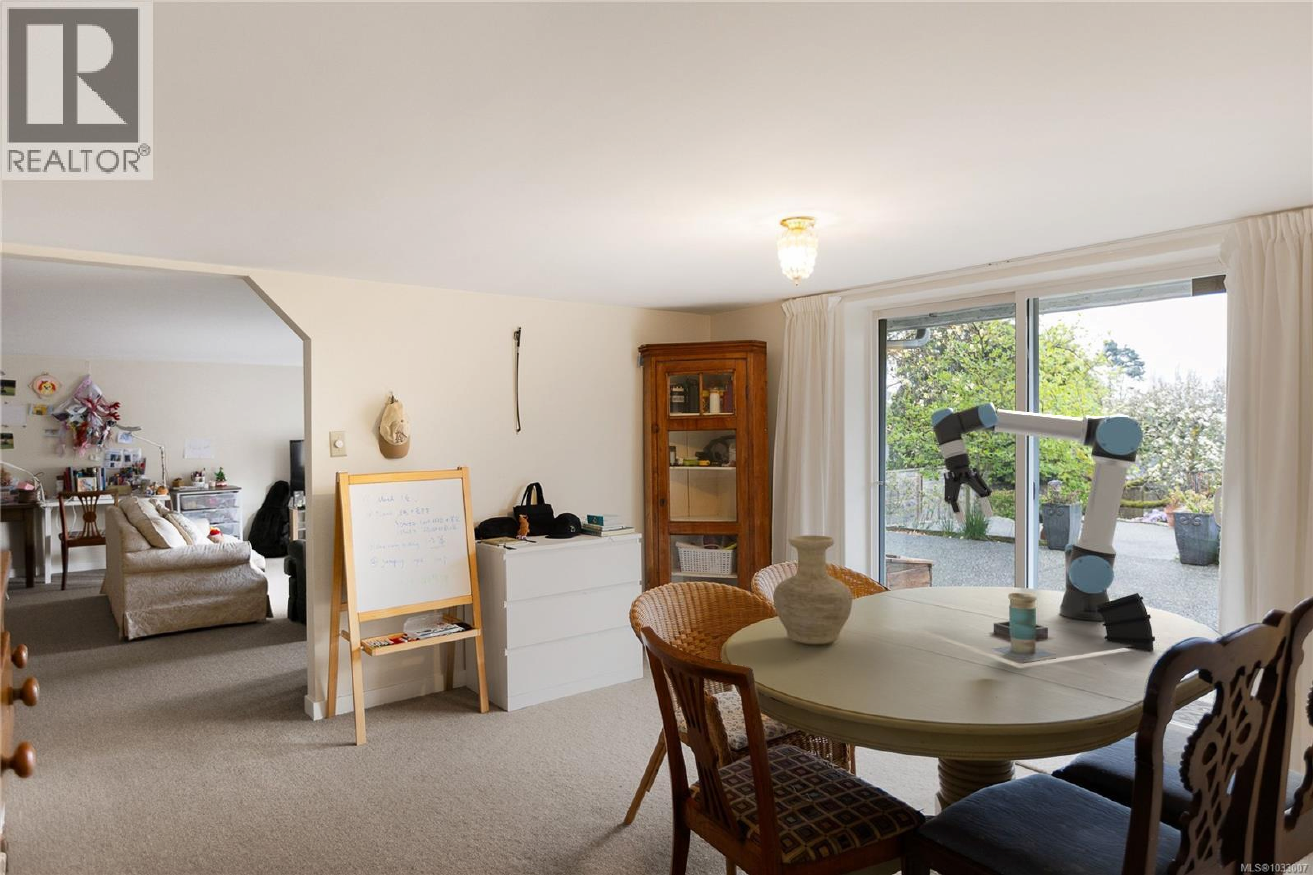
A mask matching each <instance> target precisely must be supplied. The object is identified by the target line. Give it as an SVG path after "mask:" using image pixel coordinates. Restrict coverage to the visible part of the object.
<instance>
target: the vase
mask: <svg viewBox="0 0 1313 875" xmlns="http://www.w3.org/2000/svg"><path fill="white" fill-rule="evenodd" d="M788 542H789V544H790V546H792V547H793V548H794V549H796V551H797V570H796V573H795V574H794V575H791V576H790V577H788V578H785V579H784V580H782V581H781V582H779V583H778V584H777V585H776V587H775V589H774V591H773V594H772V595H773V597H772V598H773V599H772V600H773V605H774V610H775V612H776V615H777V617H778V618H779V621H780V622H781V624H782V625H783V627H784V628H785V630H786V635H787V637H788V638H789V639H790V640H791V641H794V642H797V643H801V644H805V645H806V644H807V645H825V644H830V643H834V642H835V641H837V640H838V639H839V638H840V634H841V630H842V629H843V628H844V626H845V625H846V622H847V621H848V620H849V617H850V615H851V611H852V607H853V606H852V605H853V595H852V591H851V589H850V588H849V587H848V586H847V585H846V583H844V582H843V581H841V580H840V579H837V578H835V577H833V576H831V575H829V574H828V572H827V567H826V566H827V565H826V551H827V550H828V548H831V546H833V545H834V543H835V539H834V537H831V536H825V535H811V534H810V535H809V534H808V535H795V536H791V537H789V538H788Z"/></svg>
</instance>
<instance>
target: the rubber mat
mask: <svg viewBox="0 0 1313 875" xmlns="http://www.w3.org/2000/svg"><path fill="white" fill-rule="evenodd" d="M992 650H994V651H997V652H999V653H1003V654H1006V655H1009V656H1012V657H1014V658H1018V659H1020V660H1023V661H1025V660H1031V659H1036V658H1037V659H1038V658H1043V657H1049V656H1056V655H1057V654H1055V653H1052V652H1049V651H1046V650H1042V649H1039V648H1036V647H1035V654H1031V655H1024V654H1017V653H1014V652H1012V651H1011V645H1008V646H1002V647H1000V646H999V647H994V648H992ZM1046 659H1047V658H1046ZM1046 659H1045V658H1044V659H1043V661H1047V660H1046ZM1054 659H1056V657H1051V658H1050V660H1054ZM1040 660H1041V659H1039V660H1033V661H1026V662H1024V664H1028V663H1035V662H1041V661H1040Z"/></svg>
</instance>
